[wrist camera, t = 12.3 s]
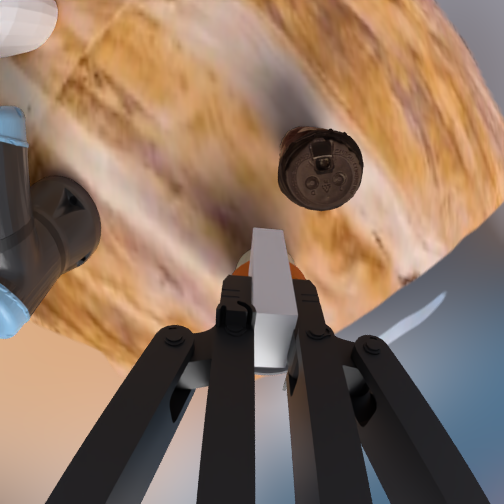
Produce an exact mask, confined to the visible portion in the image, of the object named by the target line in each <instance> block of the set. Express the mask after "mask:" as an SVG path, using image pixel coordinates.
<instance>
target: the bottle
mask: <svg viewBox="0 0 504 504" xmlns="http://www.w3.org/2000/svg"><path fill="white" fill-rule="evenodd" d="M57 18H58V8H57V5H56V2H55V1H54V0H0V58H2V57H9V56H13V55H17V54H21V53H26V52H30V51H32V50H35V49H37V48H38V47H40V46H41V45H42V44H44V43H45V41H46V40H47V39H48V38H49V37H50V35H51V34H52V32H53V30H54V28H55V25H56V22H57Z"/></svg>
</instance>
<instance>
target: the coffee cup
mask: <svg viewBox="0 0 504 504" xmlns="http://www.w3.org/2000/svg"><path fill="white" fill-rule="evenodd" d="M280 147H281V150H280V151H281V153H280V158H279V167H278V184H279V187H280V189H281V191H282V193H284V194H285V195H286V196H287V197H288V198H289V199H290V200H291V201H292V202H294V203H295V204H297V205H299V206H301V207H304V208H306V209H310V210H317V211H325V210H332V209H335V208H338V207H340V206H342V205H343V204H344V203H346V202H348V201H349V200H350V199H351V198H352V197H353V196H354V194H355V193H356V191H357V190H358V188H359V186H360V183H361V179H362V174H363V167H364V166H363V159H362V154H361V151H360V149H359V147H358V145H357V144H356V143H355V141H354V140H353V139H352V138H351V137H350V136H348V135H347V133H345V132H344V133H342V132H338V131H334V130H332V129H329V130H327V129H323V128H315V127H307V126H306V127H296V128H295V129H292V130H289V131H288V132H287V133H286V135H285V137H284V138H283V139H282V144H281V146H280Z"/></svg>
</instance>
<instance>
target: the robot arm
mask: <svg viewBox="0 0 504 504" xmlns="http://www.w3.org/2000/svg"><path fill="white" fill-rule="evenodd" d="M27 147H29V144H28V142H27V138H26V124H25V115H24V113H23V111H22V110H21V109H20V108H19V107H17V106H0V339H7V338H10V337H13V336H14V335H15V334H16V333H17V332H18V331H19V330H20V328H21V327H22V326H23V325H24V323H26V322H28V321H29V319H30V317H31V315H32V314H33V313H34V311H35V310H36V308H37V307H38V305H39V304H40V303H41V301H42V300H43V298H44V297H45V296H46V294H47V293H48V292H49V290H50V289H51V287H52V286H53V285H54V283H55V282H56V281H57V279H58V278H59V277H60V276H61V275H62V274H64V273H66V272H68V271H70V270H72V269H74V268H76V267H79V266H80V265H82V264H83V263H85V262H86V261H87V260H88V259H89V258H90V256H91V255H92V254H93V253H94V251H95V250H96V248H97V246H98V244H99V241H100V236H101V223H100V218H99V214H98V211H97V208H96V206H95V204H94V202H93V201H92V199H91V197H90V196H89V195H88V193H87V192H86V191H85V190H84V189H83V188H82V187H81V186H80V185H78V184H77V183H76V182H74V181H72V180H70V179H68V178H65V177H61V176H49V177H46V178H43V179H41V180H40V181H38V182H36V183H35V184H33V185H32V186H31V187H30V181H29V168H28V148H27ZM287 361H288V372H287V375H286V379H285V383H284V386H283V390H284V391H285V390H286V387H287V396H288V408H289V420H290V434H291V446H292V461H293V474H294V490H295V504H372V498H371V493H370V488H369V482H368V477H367V472H366V467H365V462H364V457H363V453H362V448H361V445H362V447H363V449H364V451H365V452H366V455H367V456H368V458H369V461H370V463H371V465H372V466H373V468H374V471H375V473H376V475H377V477H378V479H379V481H380V483H381V485H382V487H383V489H384V491H385V492H386V495H387V497H388V499H389V501H390V503H391V504H490V502H489V501H488V499H487V497H486V495H485V494H484V492H483V490H482V488H481V487H480V485H479V483H478V482H477V480H476V478H475V477H474V475H473V473H472V472H471V470H470V468H469V467H468V465H467V464H466V462H465V460H464V459H463V457H462V455H461V454H460V452H459V451H458V449H457V447H456V446H455V444H454V443H453V441H452V439H451V438H450V436H449V435H448V433H447V432H446V430H445V429H444V427H443V426H442V424H441V423H440V421H439V419H438V418H437V416H436V415H435V413H434V412H433V410H432V409H431V407H430V406H429V404H428V403H427V401H426V400H425V398H424V397H423V395H422V394H421V392H420V391H419V389H418V388H417V386H416V385H415V384H414V382H413V381H412V379H411V378H410V376H409V375H408V374H407V372H406V371H405V369H404V368H403V366H402V365H401V363H400V362H399V361H398V359H397V358H396V356H395V355H394V353H393V352H392V351H391V349H390V348H389V346H388V345H387V344H386V343H385V342H384V341H383V340H382V339H380V338H378V337H376V336H372V335H363V336H361V337H359V338H358V339H357V340H356V342H351V341H347V340H343V339H340V338H338V337H336V336H335V335H334V333H333V331H332V329H331V328H330V327H329V326H327V325H326V324H325V320H324V316H323V312H322V309H321V305H320V303H319V297H318V294H317V290H316V287H315V286H314V285H313V284H312V282H311V281H310V280H302V279H292V277H291V272H290V266H289V260H288V255H287V250H286V244H285V239H284V234H283V230H276V229H265V228H253V235H252V245H251V254H250V264H249V276H238V275H228V276H227V277H226V278H225V280H224V281H223V285H222V292H221V300H220V304H218V306H217V309H216V325H215V326H214V327H213V328H211V329H210V330H207V331H205V332H201V333H194V334H193V333H192V332H191V331H190V330H189V329H188V328H186V327H183V326H179V325H171V326H166V327H164V328H162V329H160V330H159V331H158V332H157V333H156V335H155V336H154V338H153V339H152V341H151V342H150V343H149V345H148V346H147V348H146V349H145V351H144V352H143V354H142V355H141V357H140V358H139V359H138V361H137V362H136V364H135V365H134V367H133V368H132V370H131V371H130V373H129V374H128V376H127V377H126V379H125V380H124V382H123V383H122V385H121V386H120V387H119V389H118V391H117V392H116V394H115V395H114V396H113V398H112V399H111V401H110V403H109V404H108V405H107V407H106V409H105V410H104V411H103V413H102V415H101V416H100V418H99V419H98V421H97V422H96V424H95V425H94V427H93V428H92V430H91V431H90V433H89V435H88V436H87V437H86V439H85V441H84V442H83V444H82V445H81V447H80V448H79V450H78V452H77V453H76V455H75V456H74V458H73V459H72V461H71V463H70V464H69V466H68V467H67V469H66V471H65V472H64V474H63V475H62V477H61V478H60V480H59V482H58V483H57V485H56V487H55V488H54V490H53V491H52V493H51V495H50V496H49V498H48V500H47V501H46V503H45V504H141V502H142V500H143V498H144V496H145V494H146V492H147V489H148V487H149V485H150V483H151V481H152V479H153V477H154V475H155V473H156V471H157V469H158V467H159V465H160V463H161V461H162V459H163V457H164V455H165V452H166V450H167V448H168V446H169V444H170V442H171V440H172V438H173V436H174V434H175V432H176V430H177V428H178V426H179V423H180V421H181V419H182V417H183V415H184V413H185V411H186V409H187V407H188V405H189V402H190V401H191V399H192V396H193V394H194V392H195V390H196V388H200V387H206V386H208V395H207V405H206V413H205V422H204V431H203V441H202V451H201V460H200V470H199V481H198V491H197V502H196V504H255V372H254V367H274V368H285V367H286V363H287Z"/></svg>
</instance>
